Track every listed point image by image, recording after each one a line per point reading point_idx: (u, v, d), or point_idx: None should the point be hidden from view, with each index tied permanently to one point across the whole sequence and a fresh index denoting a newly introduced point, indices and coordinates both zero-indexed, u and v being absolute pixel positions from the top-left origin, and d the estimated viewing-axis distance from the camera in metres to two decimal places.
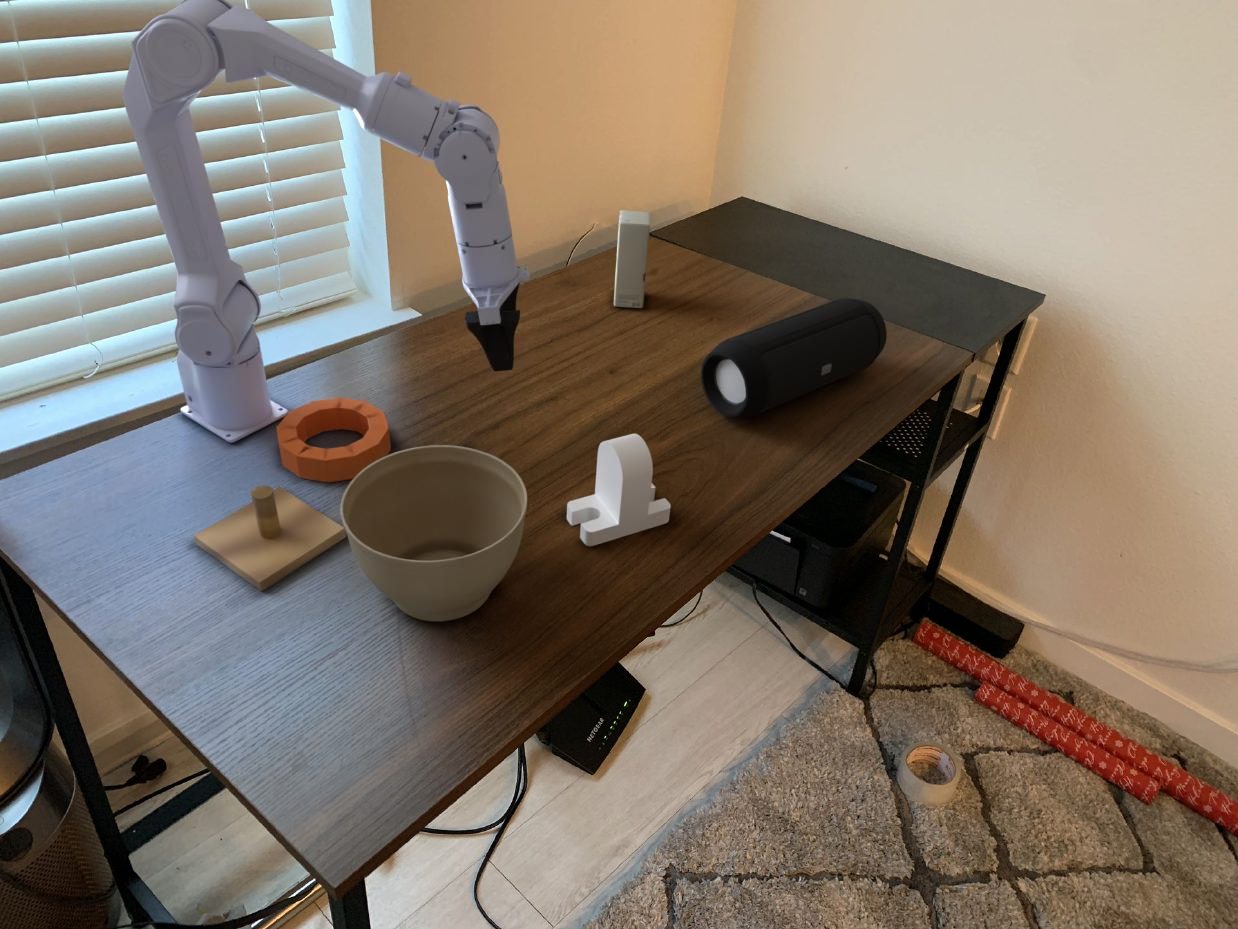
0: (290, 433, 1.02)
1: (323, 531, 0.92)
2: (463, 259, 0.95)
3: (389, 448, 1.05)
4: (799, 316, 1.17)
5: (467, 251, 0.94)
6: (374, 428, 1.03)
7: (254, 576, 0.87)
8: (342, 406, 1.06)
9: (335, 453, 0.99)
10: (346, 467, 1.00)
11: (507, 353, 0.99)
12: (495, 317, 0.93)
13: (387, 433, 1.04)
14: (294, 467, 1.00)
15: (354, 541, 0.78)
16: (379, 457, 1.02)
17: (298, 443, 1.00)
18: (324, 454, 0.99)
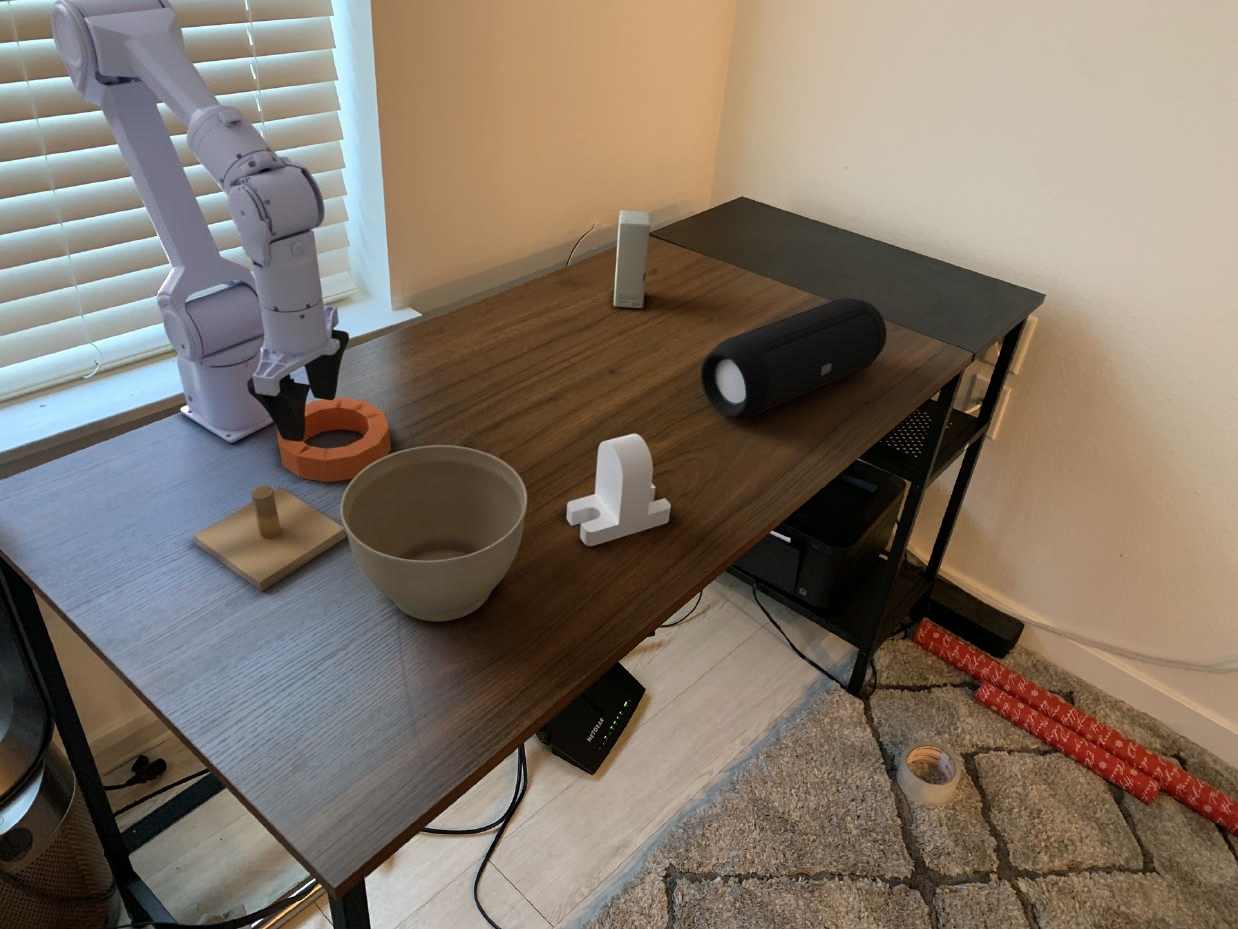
0: None
1: (323, 531, 0.92)
2: (262, 318, 0.88)
3: (389, 448, 1.05)
4: (799, 316, 1.17)
5: (263, 311, 0.87)
6: (374, 428, 1.03)
7: (254, 576, 0.87)
8: (342, 406, 1.06)
9: (335, 453, 0.99)
10: (346, 467, 1.00)
11: (295, 424, 0.92)
12: (270, 389, 0.86)
13: (387, 433, 1.04)
14: (294, 467, 1.00)
15: (354, 541, 0.78)
16: (379, 457, 1.02)
17: (298, 443, 1.00)
18: (324, 454, 0.99)
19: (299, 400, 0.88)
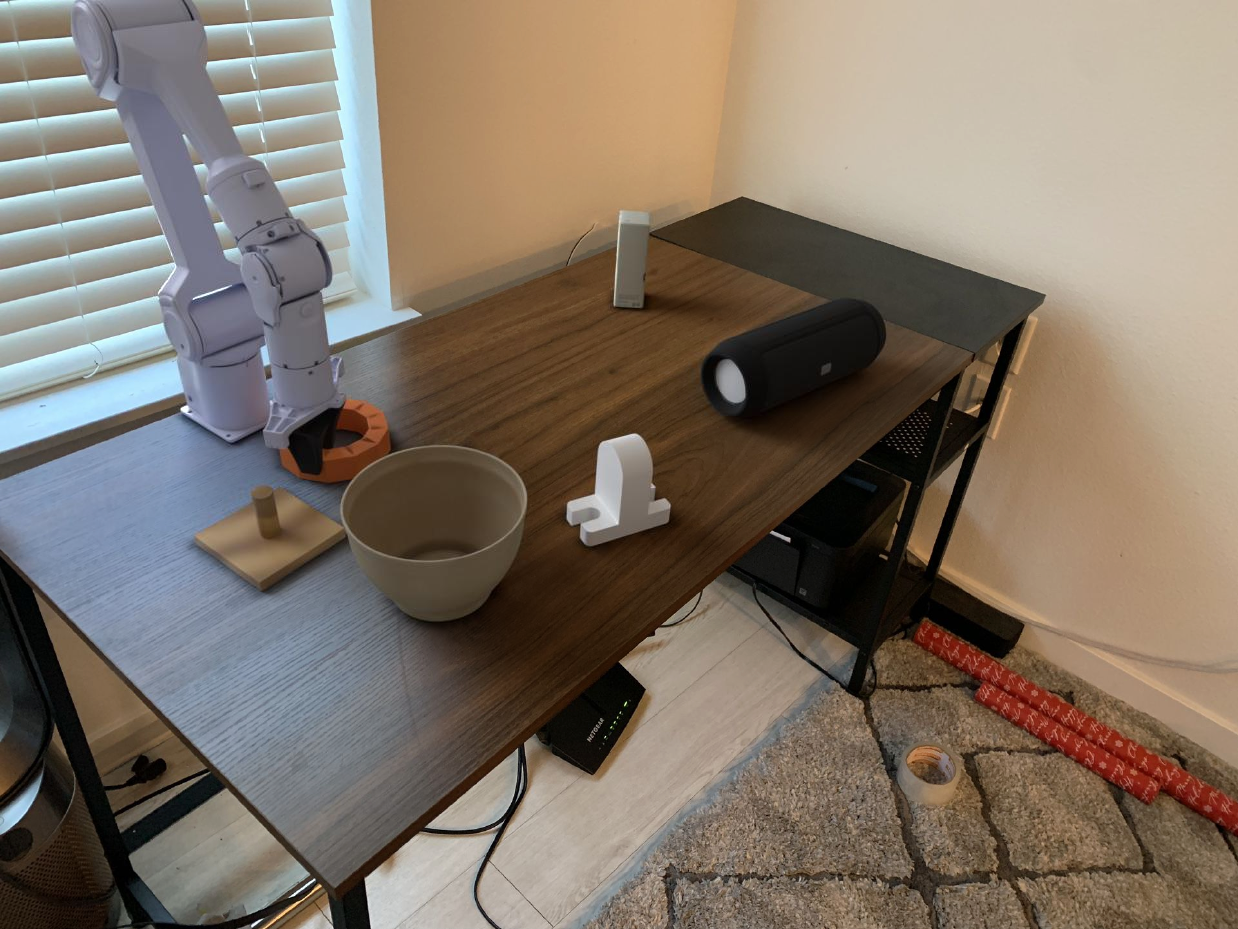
0: None
1: (323, 531, 0.92)
2: None
3: (389, 448, 1.05)
4: (799, 316, 1.17)
5: (273, 368, 0.91)
6: (374, 428, 1.03)
7: (254, 576, 0.87)
8: None
9: (334, 453, 0.99)
10: (346, 468, 1.00)
11: (313, 459, 0.97)
12: (280, 443, 0.90)
13: (387, 433, 1.04)
14: (294, 468, 1.00)
15: (354, 541, 0.78)
16: (379, 457, 1.02)
17: None
18: (324, 454, 0.99)
19: (318, 438, 0.94)
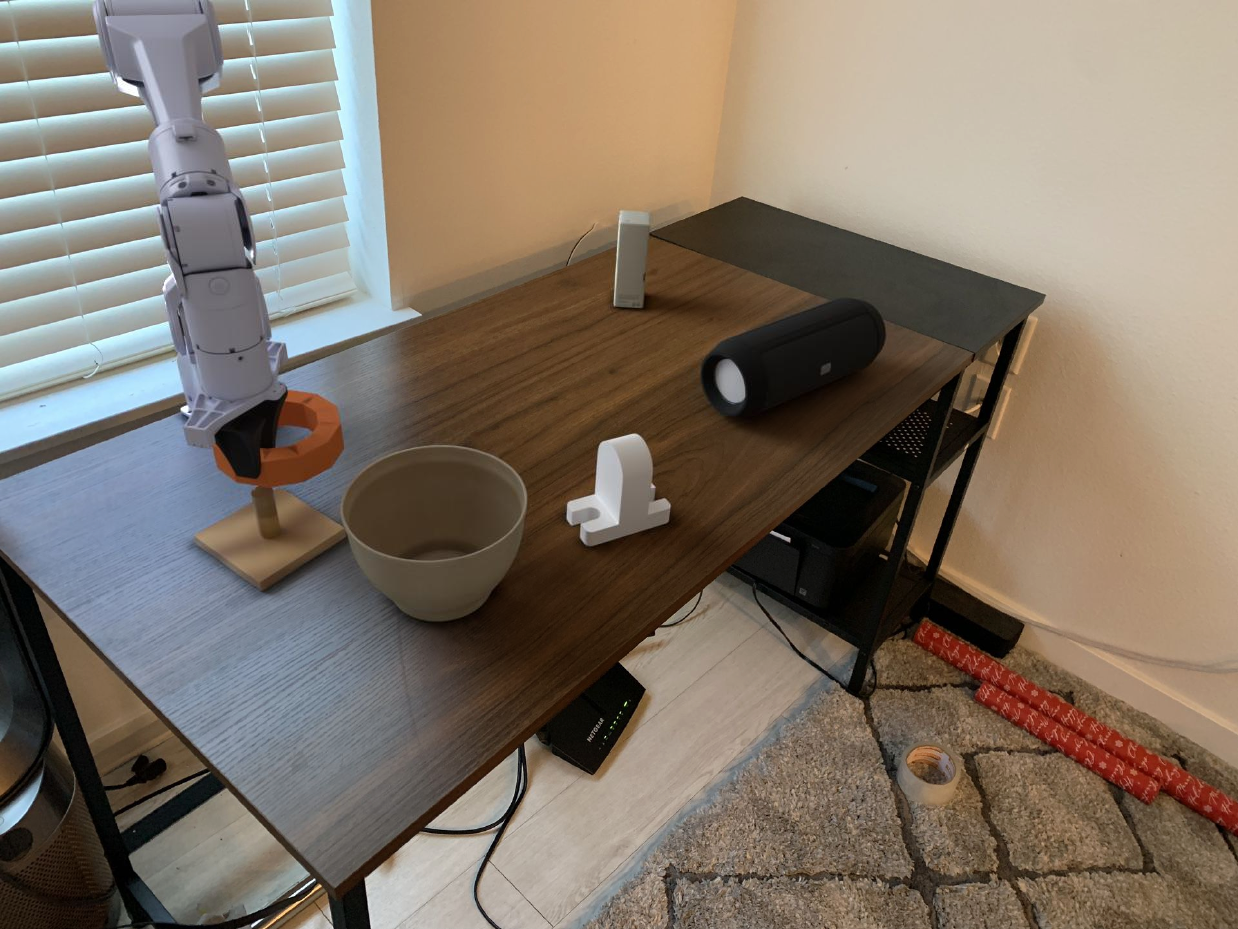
0: None
1: (323, 531, 0.92)
2: (196, 360, 0.78)
3: (342, 447, 0.91)
4: (798, 316, 1.17)
5: (196, 353, 0.77)
6: (324, 424, 0.90)
7: (254, 576, 0.87)
8: (288, 399, 0.93)
9: (276, 453, 0.86)
10: (290, 470, 0.86)
11: (249, 461, 0.84)
12: (204, 441, 0.76)
13: (339, 430, 0.90)
14: (229, 470, 0.86)
15: (354, 541, 0.78)
16: (329, 458, 0.89)
17: None
18: (263, 455, 0.85)
19: (252, 435, 0.80)
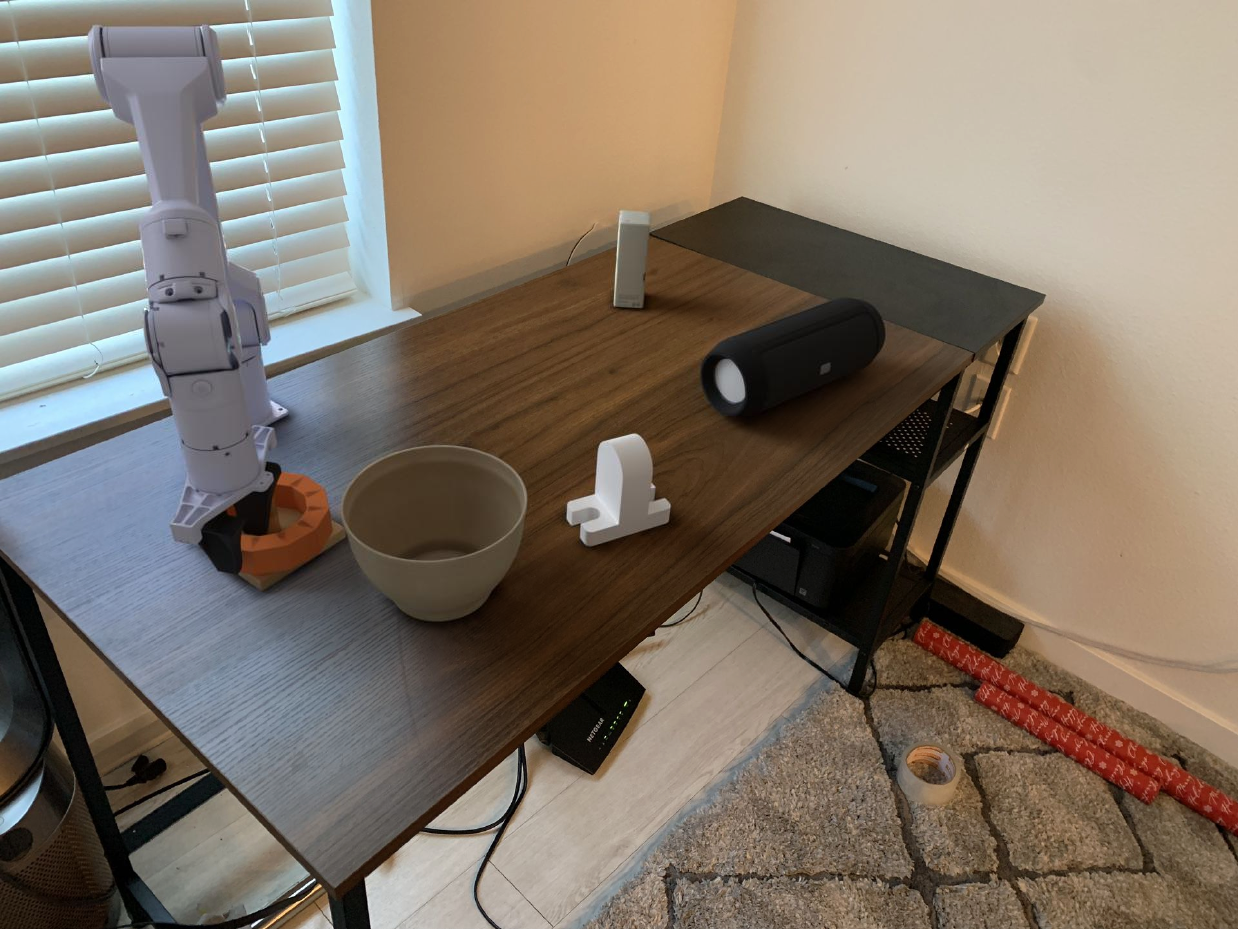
0: None
1: None
2: (183, 454, 0.79)
3: (330, 531, 0.92)
4: (798, 315, 1.17)
5: (183, 448, 0.77)
6: (312, 509, 0.90)
7: (254, 576, 0.87)
8: (277, 482, 0.93)
9: (264, 542, 0.86)
10: (278, 558, 0.87)
11: (230, 557, 0.83)
12: (190, 538, 0.76)
13: (327, 515, 0.90)
14: None
15: (354, 541, 0.78)
16: (317, 543, 0.89)
17: None
18: (252, 543, 0.86)
19: (232, 537, 0.79)
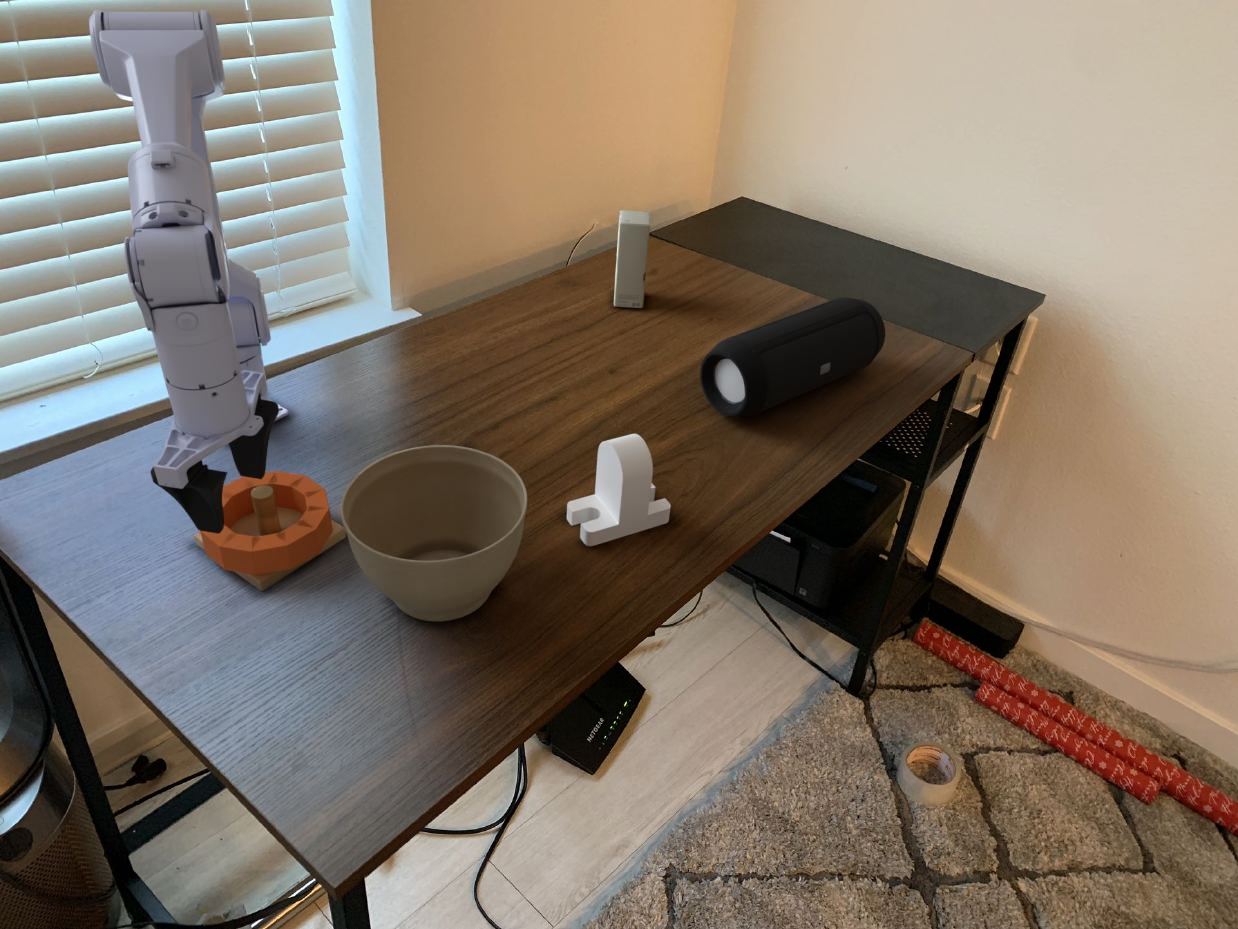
0: None
1: None
2: (168, 394, 0.75)
3: (330, 531, 0.92)
4: (798, 315, 1.17)
5: (169, 388, 0.74)
6: (312, 509, 0.90)
7: (254, 576, 0.87)
8: (277, 482, 0.93)
9: (264, 542, 0.86)
10: (278, 558, 0.87)
11: (211, 515, 0.79)
12: (175, 481, 0.73)
13: (327, 515, 0.90)
14: (218, 558, 0.87)
15: (354, 541, 0.78)
16: (317, 543, 0.89)
17: (222, 530, 0.87)
18: (252, 543, 0.86)
19: (212, 491, 0.75)
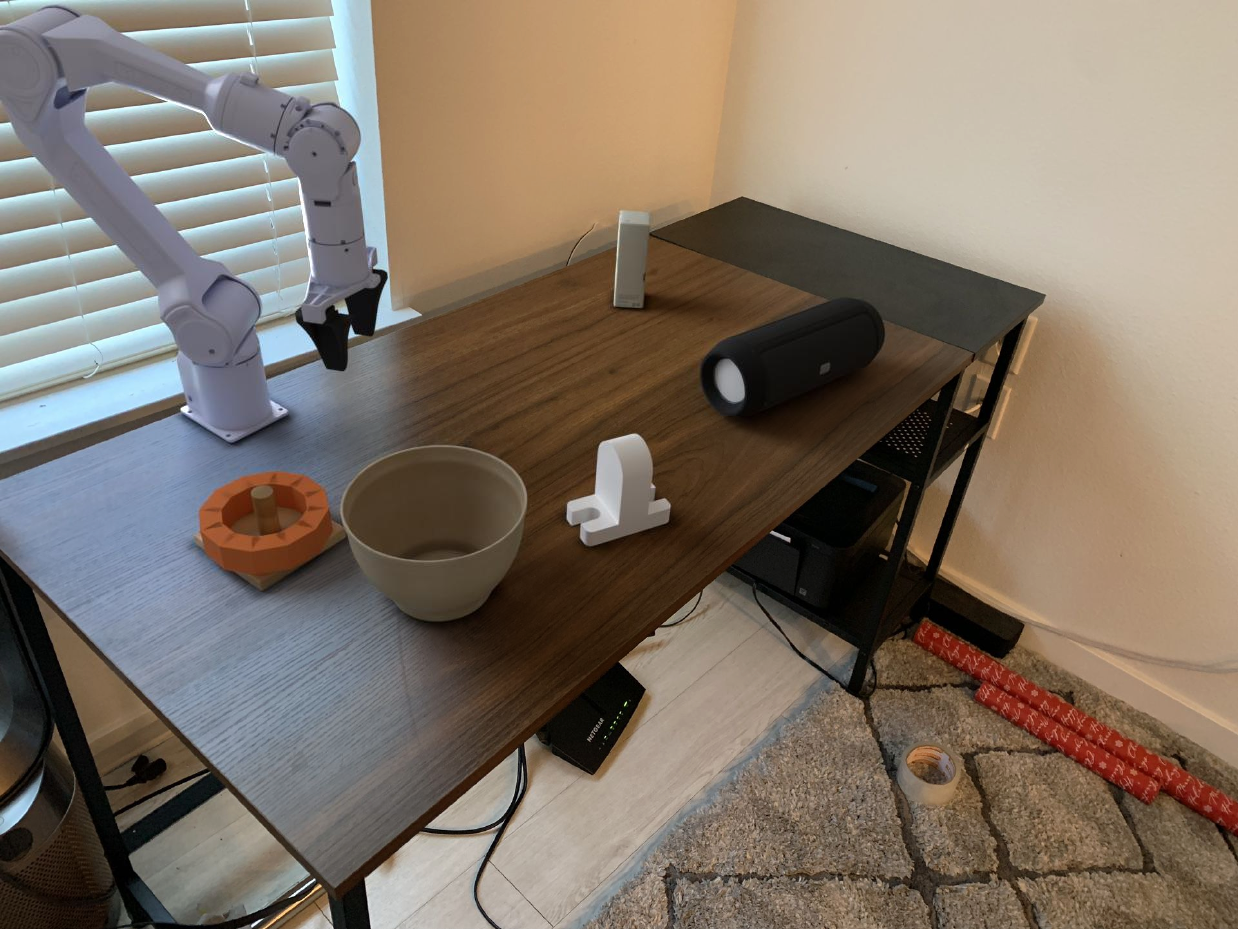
0: (214, 517, 0.88)
1: None
2: None
3: (330, 531, 0.92)
4: (798, 315, 1.17)
5: (310, 245, 0.93)
6: (312, 509, 0.90)
7: (254, 576, 0.87)
8: (277, 482, 0.93)
9: (264, 542, 0.86)
10: (278, 558, 0.87)
11: (339, 354, 0.98)
12: (317, 317, 0.92)
13: (327, 515, 0.90)
14: (218, 558, 0.87)
15: (354, 541, 0.78)
16: (317, 543, 0.89)
17: (222, 530, 0.87)
18: (252, 543, 0.86)
19: (343, 329, 0.94)
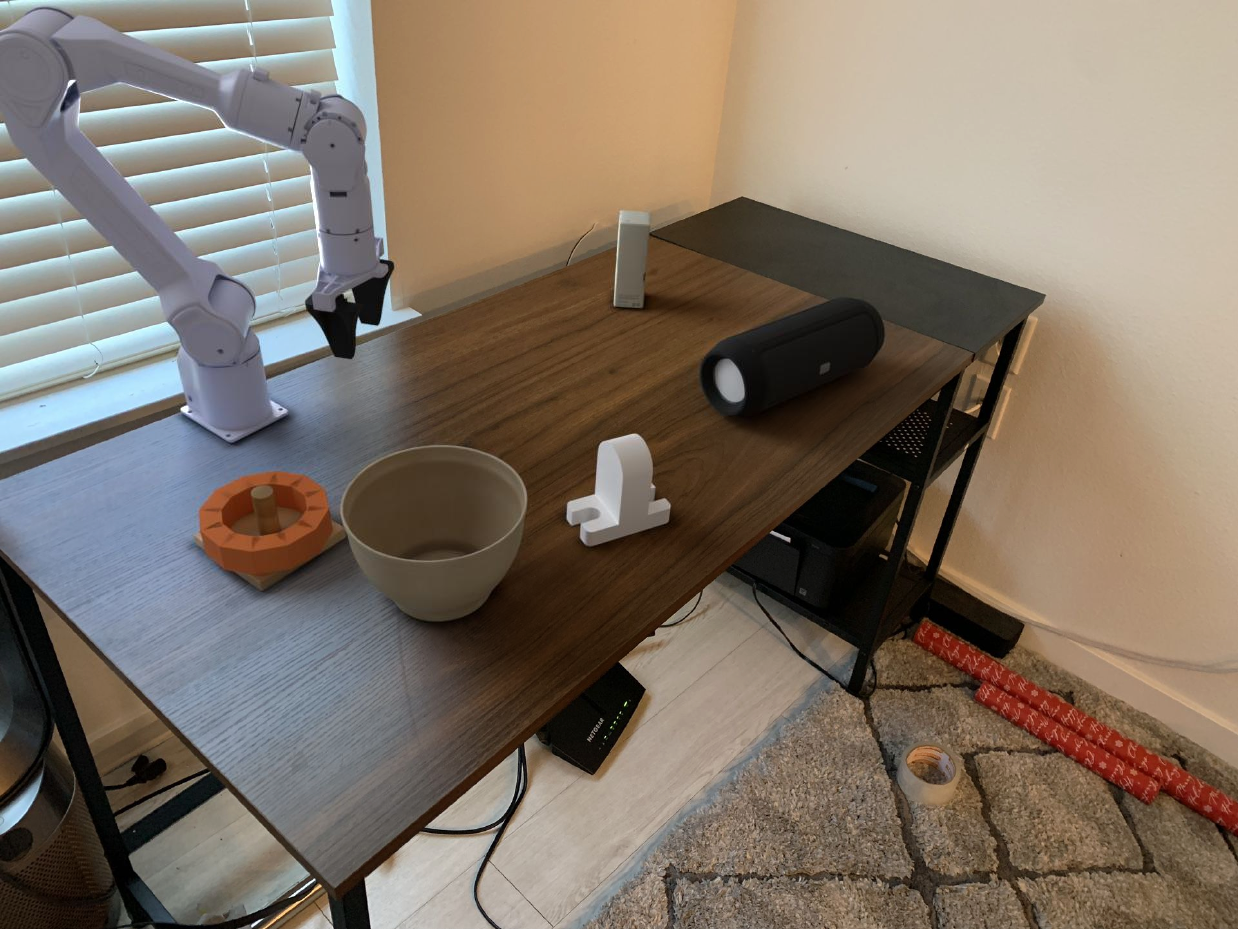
0: (214, 517, 0.88)
1: None
2: (318, 242, 0.97)
3: (330, 531, 0.92)
4: (797, 315, 1.17)
5: (321, 235, 0.95)
6: (312, 509, 0.90)
7: (254, 576, 0.87)
8: (277, 482, 0.93)
9: (264, 542, 0.86)
10: (278, 558, 0.87)
11: (347, 342, 1.00)
12: (327, 305, 0.94)
13: (327, 515, 0.90)
14: (218, 558, 0.87)
15: (354, 541, 0.78)
16: (317, 543, 0.89)
17: (222, 530, 0.87)
18: (252, 543, 0.86)
19: (352, 317, 0.96)
